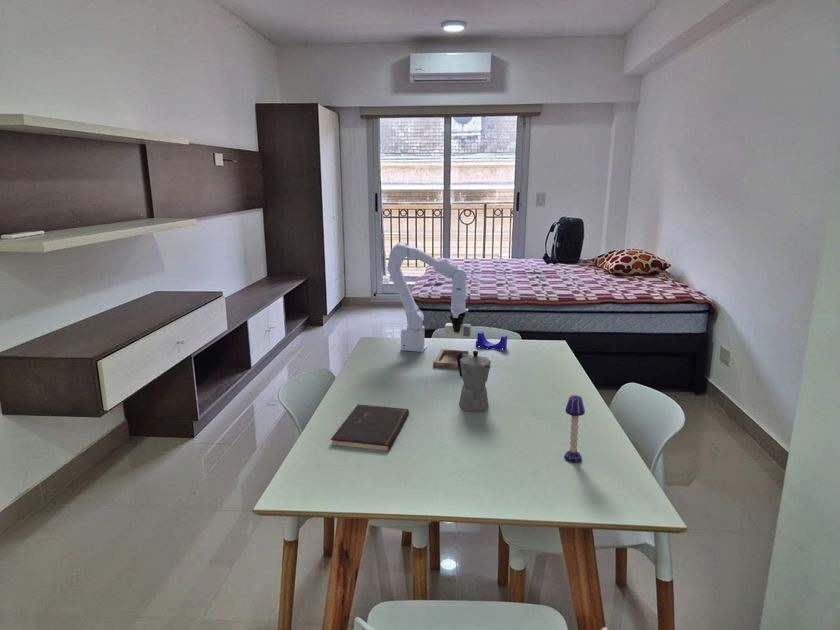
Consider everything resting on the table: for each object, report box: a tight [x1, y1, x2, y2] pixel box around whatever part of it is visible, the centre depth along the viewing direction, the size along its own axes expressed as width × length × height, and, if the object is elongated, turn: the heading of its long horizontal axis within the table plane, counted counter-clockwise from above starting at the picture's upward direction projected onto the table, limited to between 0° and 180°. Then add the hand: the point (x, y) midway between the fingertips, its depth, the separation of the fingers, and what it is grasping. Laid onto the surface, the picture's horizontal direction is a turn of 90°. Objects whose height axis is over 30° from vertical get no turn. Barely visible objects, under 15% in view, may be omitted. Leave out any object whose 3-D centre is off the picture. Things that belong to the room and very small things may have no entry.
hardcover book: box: [330, 403, 410, 452], centre depth 151 cm, size 16×23×2 cm
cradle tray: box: [432, 348, 469, 370], centre depth 207 cm, size 11×16×2 cm
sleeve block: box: [444, 322, 472, 337], centre depth 219 cm, size 10×4×4 cm, turn 77°
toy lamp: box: [563, 394, 586, 464], centre depth 134 cm, size 5×5×17 cm
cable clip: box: [475, 331, 508, 351], centre depth 224 cm, size 12×4×6 cm, turn 60°
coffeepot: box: [457, 350, 492, 413], centre depth 166 cm, size 15×9×18 cm, turn 33°
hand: (457, 330), depth 219 cm, fingers closed on sleeve block, 4 cm apart
